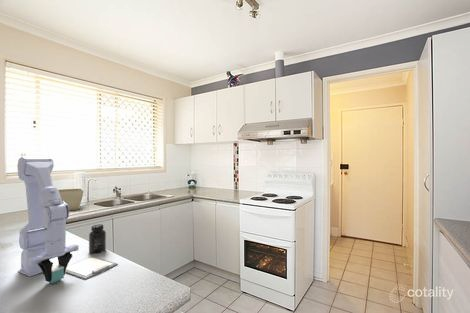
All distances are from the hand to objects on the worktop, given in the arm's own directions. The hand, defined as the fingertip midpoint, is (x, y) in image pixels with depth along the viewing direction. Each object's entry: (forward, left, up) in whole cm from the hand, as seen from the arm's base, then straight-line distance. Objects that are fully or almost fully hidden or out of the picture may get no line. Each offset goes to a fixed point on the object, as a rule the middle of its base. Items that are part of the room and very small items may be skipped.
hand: (55, 278), depth 81 cm
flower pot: (-123, +72, -2) cm, 143 cm away
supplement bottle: (-13, +24, -2) cm, 27 cm away
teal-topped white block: (0, 0, -1) cm, 1 cm away
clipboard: (0, +12, -1) cm, 12 cm away
